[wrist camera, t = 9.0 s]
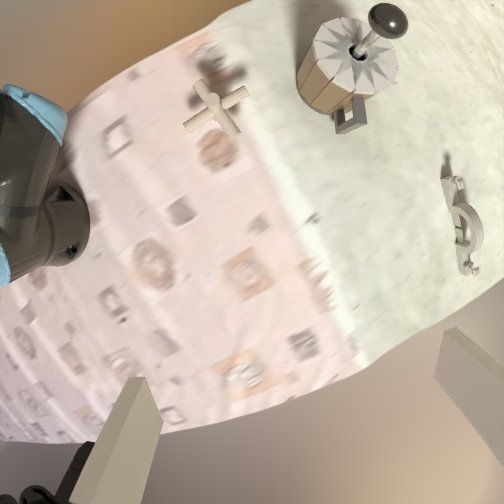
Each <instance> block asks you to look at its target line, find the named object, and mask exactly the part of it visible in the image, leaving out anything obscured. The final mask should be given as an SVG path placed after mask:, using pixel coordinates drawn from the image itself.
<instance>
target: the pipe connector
mask: <svg viewBox="0 0 504 504" xmlns="http://www.w3.org/2000/svg"><path fill="white" fill-rule="evenodd" d="M193 88H194V89H195V90H196V92H197V93H198V95H199V96H200V97H201V99H202V100H203V102H204V103H205V104H206V106H207V108H206V109H204V110H202V111H201V112H199V113H198V114H196V115H195V116H193V117H192V118H190V119H189V120H187V121H186V122H184V123H183V125H184V127H185V128H186V130H187V131H188V132H189V134H190V133H191V132H193V131H194V130H196V129H197V128H199V127H200V126H202V125H203V124H205V123H206V122H208V121H209V120H211V119H212V118H214V120H215V121H217V122H218V123H219V124H220V126H221V127H222V129H223V130H224V132H225V133H226V134H227V136H228V137H229V139H230V140H232V139H234V138H236V137H237V136H239V135H240V134H241V132H240V130H239V129H238V127H237V126H236V124H235V123H234V121H233V120H232V119H231V117H230V116H229V114H228V113H227V111H226V110H227V109H228V108H230V107H231V106H233V105H235V104H236V103H238V102H240V101H241V100H243V99H245V98H247V97H248V96H250V94H249V92H248V90H247V89H246V88H245V86H242V87H240V88H238V89H237V90H235V91H233V92H231V93H230V94H228V95H226V96H225V97H223V98H222V99H220V98H219V96H218V95H217V94H216V93H213V92H212V91H211V89H210V88H209V86H208V85H207V84H206V82H205V81H204V80H203V79H200V80H198V81H196V82H195V83H194V84H193Z"/></svg>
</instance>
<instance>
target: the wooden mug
mask: <svg viewBox="0 0 504 504" xmlns="http://www.w3.org/2000/svg"><path fill="white" fill-rule="evenodd" d="M371 30H372V28H371V26H370V25H369V24H367V23H365V22H364V21H361V22H360V20H358V19H351V18H343V17H340V19H339V18H336V19H333V20H331V21H328V22H326V23H323V24H322V25H321V27H320V28H319V30H318V32H317V34H316V36H315V37H314V39H313V41H312V44H311V46H310V48H309V50H308V52H307V55H306V57H305V59H304V61H303V63H302V65H301V66H300V68H299V70H298V73H297V76H296V86H297V90H298V93H299V95H300V97H301V98H302V100H303V101H304V102H305V103H306V104H307V105H308V106H309V107H310V108H312V109H313V110H315V111H317V112H319V113H321V114H325V115H330V116H334V121H335V129H336V134H346V133H348V132H350V131H352V130H354V129H357V128H359V127H361V126H363V125H366V124H367V119H366V111H365V104H364V101H366V100H367V99H369V98H370V97H372V96H373V95H375V94H377V93H378V92H380V91H381V90H383V89H385V88H387V87H389V86H390V85H392V83H393V82H394V79H395V77H396V74H397V71H398V68H397V67H399V66H398V62H397V58H396V54H395V50H394V49H392V48H393V46H392V45H391V44H390V42H389V41H388V40H387V39H386V38H384V37H380V38H379V39H378V40H377V41H376V42H375V43H374V44H373V45H372V46H371V47H370V48H369V49H368V50H367V51H366V52H365V53H364V54H363V55H362V56H361V57H360V58H359V59H358V60H355V59H354V58H352V56H351V55H350V54H351V53H352V52H353V50H354V49H355V48H356V47H357V46H358V45H359V44H360V42H361V41H362V40H363V39H364V38H365V37H366V36H367V35H368V33H369V32H370V31H371ZM351 110H352V111H353V118H351V119H349V120H348V121H346V122H345V115H344V114H345V113H347V112H349V111H351Z"/></svg>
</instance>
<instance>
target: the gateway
mask: <svg viewBox="0 0 504 504" xmlns="http://www.w3.org/2000/svg"><path fill="white" fill-rule="evenodd" d="M440 180H441V184H442V187H443V191H444V195H445V199H446V203H447V207H448V212H451V214H452V218H453V223H454V225H455V226H459V227H461V222H460V217H459V214H460V215H461V216H463V217H464V218H465V220H466V221H467V223H468V225H469V228H470V231H471V242H469V241H466V240H464V238H463V232H462V230H461V229H458V228H455V232H456V237H457V243H455V247H456V253H457V260H458V267H459V272H460V273H462V274H464V275H466V276H468V275H469V274H471V273H472V274H473V275H474V277H476V276H477V275H479V266H478V267H477V268H474V265H473V262H471V261H470V254H471V253H473V252H474V251H476V250H477V249H479V248H480V247H481V246H482V243H483V239H484V230H483V226H482V223H481V220H480V218H479V216H478V214H477V212H476V211H475V210H474V209H473V207H472V206H470V205H469V204H467V203H463V202H460V199H459V195H458V191H457V188H458V190H460V189H462V188H464V187H465V186H464V182H463V178H461V179H459V180H458V179H457V176H447V177H444V178H442V179H440Z"/></svg>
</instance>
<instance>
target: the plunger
mask: <svg viewBox="0 0 504 504" xmlns="http://www.w3.org/2000/svg"><path fill="white" fill-rule="evenodd" d="M368 21H369V24H370V26H371V28H372V30H371V31H370V32H369V33H368V35H367V36H366V37H365V38H364V39H363V40H362V41H361V42H360V44H359V45H358V46H357V47H356V48H355V49H354V50H353V52H352V53H351V54H350V55H351V56H352V58H354V59H355V60H358V59H359V58H360V57H361V56H362V55H363V54H364V53H365V52H366V51H367V50H368V49H369V48H370V47H371V46H372V45H373V44H374V43H375V42H376V41H377V40H378V39H379V38H380V37H384V38H387V39H397V38H400V37H402V36H403V35H404V34H405V33H406V32H407V30H408V20H407V17H406V15H405V14H404V12H403V11H402V10H401V9H399V8H398V7H397V6H395V5H392V4H389V3H380V4H377V5H375V6H373V7H372V8H371V10H370V11H369V14H368Z"/></svg>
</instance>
